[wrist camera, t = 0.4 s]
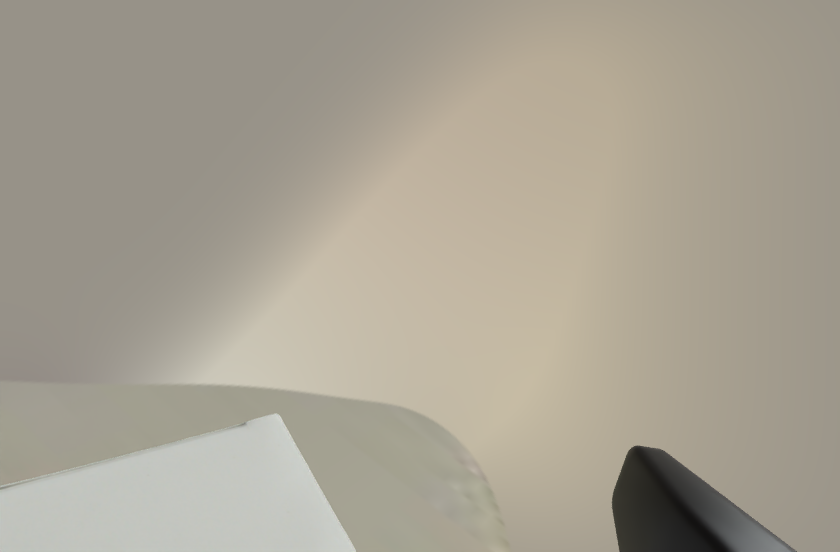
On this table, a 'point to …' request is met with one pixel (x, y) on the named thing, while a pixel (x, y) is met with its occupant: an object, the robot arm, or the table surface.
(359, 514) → the table surface
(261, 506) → the small box
